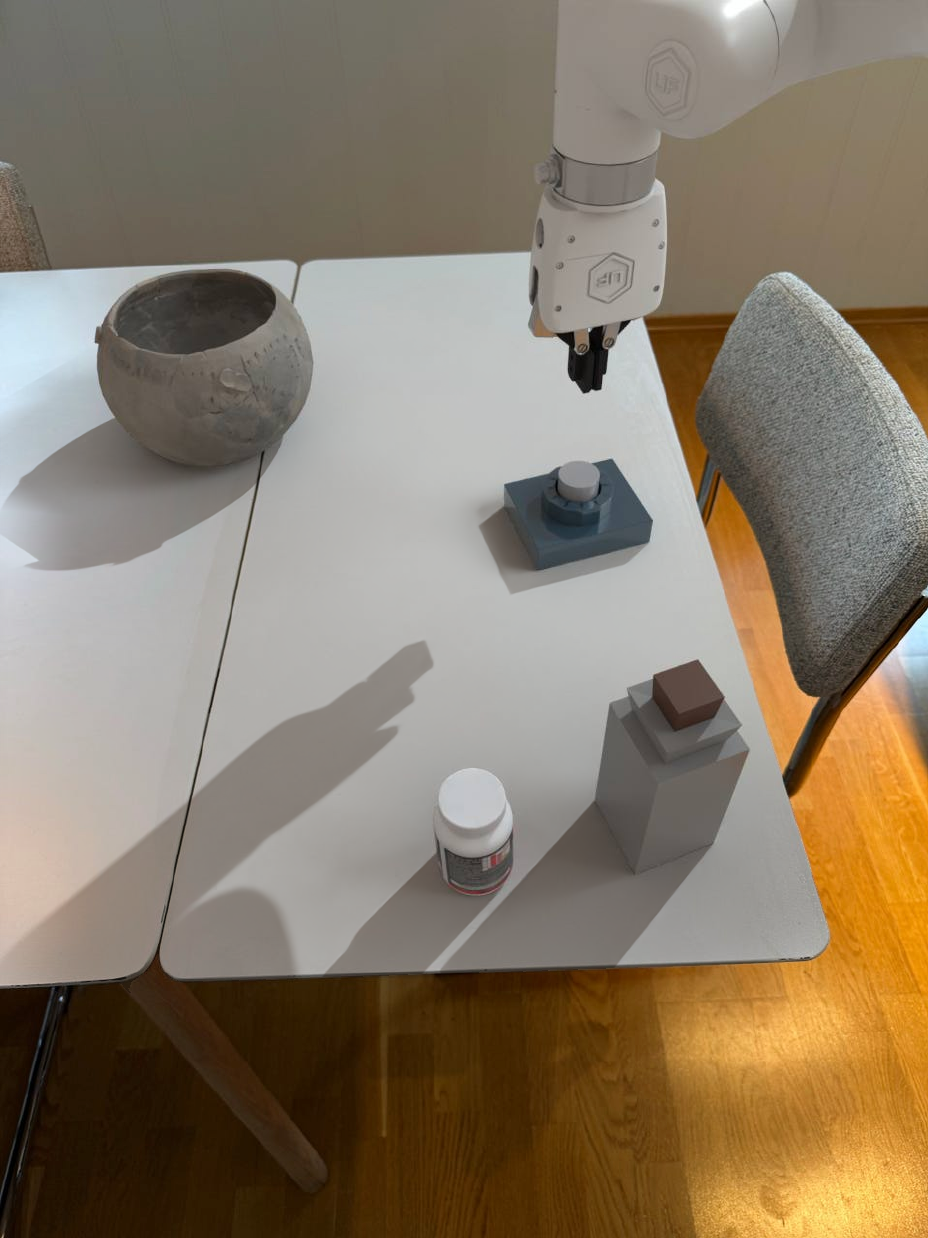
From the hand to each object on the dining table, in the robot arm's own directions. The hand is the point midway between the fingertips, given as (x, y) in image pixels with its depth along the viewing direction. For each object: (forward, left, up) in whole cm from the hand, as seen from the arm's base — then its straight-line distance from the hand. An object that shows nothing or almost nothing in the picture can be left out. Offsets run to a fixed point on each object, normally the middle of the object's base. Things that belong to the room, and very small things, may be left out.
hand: (585, 382), depth 79 cm
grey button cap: (0, 0, -13) cm, 13 cm away
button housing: (0, 0, -17) cm, 17 cm away
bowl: (+32, -29, -17) cm, 46 cm away
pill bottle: (+21, +32, -17) cm, 42 cm away
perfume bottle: (+7, +33, -17) cm, 38 cm away
